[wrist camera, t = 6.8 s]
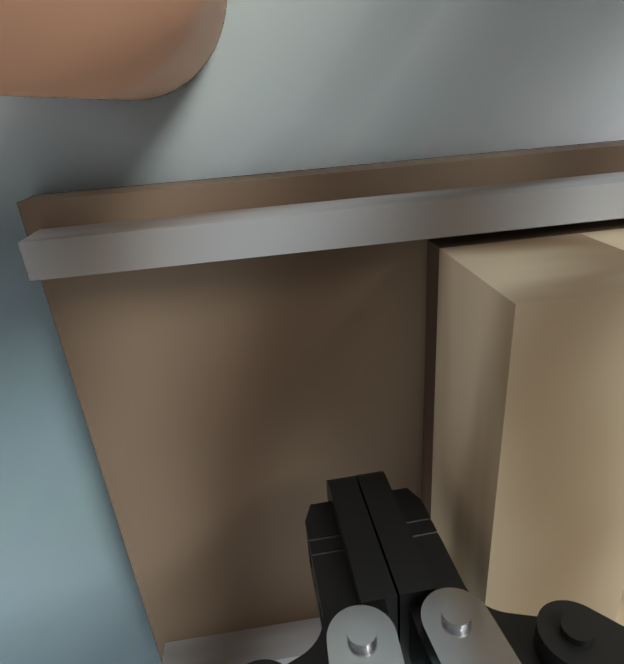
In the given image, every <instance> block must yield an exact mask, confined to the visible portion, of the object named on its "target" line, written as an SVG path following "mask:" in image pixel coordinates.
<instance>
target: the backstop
mask: <svg viewBox="0 0 624 664" xmlns="http://www.w3.org/2000/svg"><path fill="white" fill-rule="evenodd" d="M17 205H18V208H19V211H20V215H21V218H22V221H23V224H24V227H25V231H26V234H27V237H26V238H25V239H23V240H21V241H20V242H18V246H19V249H20V252H21V255H22V258H23V261H24V265H25V268H26V271H27V274H28V277H29V280H30V281H37V280H41V281H42V284H43V288H44V291H45V294H46V297H47V300H48V303H49V307H50V310H51V313H52V316H53V319H54V322H55V326H56V329H57V332H58V335H59V338H60V341H61V345H62V348H63V351H64V354H65V357H66V360H67V364H68V367H69V370H70V373H71V376H72V379H73V383H74V386H75V389H76V392H77V395H78V398H79V402H80V405H81V408H82V411H83V414H84V417H85V421H86V424H87V427H88V430H89V433H90V436H91V440H92V443H93V446H94V449H95V452H96V455H97V459H98V462H99V465H100V468H101V471H102V474H103V478H104V481H105V484H106V487H107V490H108V493H109V497H110V500H111V503H112V506H113V509H114V512H115V516H116V519H117V522H118V525H119V528H120V531H121V535H122V538H123V541H124V544H125V547H126V550H127V554H128V557H129V560H130V563H131V566H132V569H133V573H134V576H135V579H136V582H137V585H138V588H139V592H140V595H141V598H142V601H143V604H144V607H145V611H146V614H147V617H148V620H149V623H150V626H151V630H152V633H153V636H154V639H155V642H156V645H157V649H158V652H159V655H160V658H161V661H162V664H248V663H250V662H252V661H255V660H261V659H270V660H274V661H277V662H279V663H281V664H288V663H289V662H291V661H293V660H295V659H296V658H298V657H300V656H301V655H303V654H304V653H305V652H307V651H308V650H309V649H310V648H311V647H312V646H313V644H314V643H315V642H316V640H317V639H318V637H319V635H320V632H321V630H322V628H321V622H320V617H319V612H318V606H317V600H316V595H315V590H314V584H313V579H312V574H311V568H310V561H309V552H308V543H307V534H306V524H305V520H306V517H307V514H308V511H309V507H310V505H311V504H316V503H322V502H328V498H327V486H326V481H327V480H331V479H337V478H343V477H349V476H355V475H360V474H366V473H372V472H378V471H383V472H384V473H385V475H386V477H387V479H388V482H389V484H390V486H391V489H392V490H397V489H403V488H408V489H409V490H410V491H411V492H412V493H414V494H415V495H416V496H417V497H418V498H419V499H421V500H422V473H423V429H424V384H425V340H426V295H427V251H428V240H429V239H438V238H448V237H457V236H467V235H476V234H485V233H495V232H504V231H513V230H523V229H532V228H542V227H551V226H560V225H570V224H579V223H589V222H598V221H607V220H617V219H624V140H620V141H610V142H599V143H588V144H578V145H567V146H556V147H545V148H535V149H524V150H513V151H503V152H492V153H481V154H470V155H460V156H449V157H438V158H427V159H417V160H406V161H395V162H385V163H374V164H363V165H352V166H342V167H331V168H320V169H310V170H299V171H288V172H277V173H267V174H256V175H245V176H234V177H224V178H213V179H202V180H192V181H181V182H170V183H159V184H149V185H138V186H127V187H117V188H106V189H95V190H84V191H74V192H63V193H52V194H41V195H34V196H31V197H29V198H27V199H24V200H22V201H20V202H17Z"/></svg>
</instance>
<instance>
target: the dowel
mask: <svg viewBox="0 0 624 664" xmlns="http://www.w3.org/2000/svg"><path fill="white" fill-rule="evenodd" d="M226 7H227V0H0V96H26V97H55V98H84V99H112V100H144V99H150V98H155V97H158V96H162V95H165V94H168V93H170V92H172V91H174V90H176V89H178V88H179V87H181V86H182V85H184V84H185V83H187V82H188V81H189V80H191V79H192V78H193V77H194V76H195V75H196V74H197V73H198V72H199V71H200V70H201V68H202V67H203V66H204V65H205V63H206V62H207V61H208V59H209V57H210V56H211V54H212V52H213V51H214V49H215V47H216V44H217V42H218V40H219V37H220V34H221V31H222V27H223V24H224V19H225V13H226Z"/></svg>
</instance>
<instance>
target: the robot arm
mask: <svg viewBox="0 0 624 664" xmlns="http://www.w3.org/2000/svg"><path fill="white" fill-rule="evenodd" d="M326 486H327V498H328V502H322V503H316V504H311V505H310V507H309V511H308V514H307V517H306V520H305V524H306V534H307V543H308V552H309V561H310V568H311V574H312V579H313V584H314V590H315V595H316V600H317V606H318V612H319V617H320V622H321V628H322V630H321V632H320V635H319V637H318V639H317V640H316V642H315V643H314V644H313V646H312V647H311V648H310V649H309V650H308V651H307V652H305V653H304V654H303V655H301V656H300V657H298V658H296V659H295V660H293V661H291V662H289V663H288V664H624V626H622V625H620V624H619V623H617V622H615V621H613V620H611V619H609V618H607V617H606V616H604V615H602V614H600V613H598V612H596V611H594V610H593V609H591V608H589V607H587V606H585V605H583V604H580V603H577V602H574V601H569V600H556V601H552V602H549V603H547V604H546V605H544V606H543V607H542V608H541V609H540V611H539V613H538V616H530V615H522V614H513V613H506V612H501V611H498V610H495V609H492V608H490V607H488V606H486V605H485V604H484V603H483V602H482V601H481V600H480V599H479V598H477V597H476V596H475V595H473V594H472V593H470V592H469V591H468V590H467V588H466V587H465V585H464V583H463V581H462V579H461V577H460V575H459V573H458V571H457V569H456V567H455V565H454V563H453V561H452V559H451V557H450V555H449V553H448V551H447V549H446V547H445V545H444V543H443V541H442V539H441V537H440V536H439V534H438V533H437V530H436V528H435V526H434V524H433V522H432V520H431V519H430V516H429V514H428V512H427V510H426V508H425V506H424V504H423V502H422V500H421V499H419V498H418V497H417V496H416V495H415V494H414V493H412V492H411V491H410V490H409V489H408V488H403V489H397V490H392V489H391V486H390V484H389V482H388V479H387V477H386V475H385V473H384V472H383V471H378V472H372V473H366V474H360V475H355V476H349V477H343V478H337V479H331V480H327V481H326ZM248 664H281V663H279V662H277V661H274V660H270V659H261V660H255V661H252V662H250V663H248Z"/></svg>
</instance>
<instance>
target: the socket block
mask: <svg viewBox="0 0 624 664" xmlns="http://www.w3.org/2000/svg"><path fill="white" fill-rule="evenodd" d="M422 502H423V504H424V506H425V508H426V510H427V512H428V514H429V516H430V519H431V520H432V522H433V524H434V526H435V528H436V530H437V533H438V534H439V536H440V537H441V539H442V541H443V543H444V545H445V547H446V549H447V551H448V553H449V555H450V557H451V559H452V561H453V563H454V565H455V567H456V569H457V571H458V573H459V575H460V577H461V579H462V581H463V583H464V585H465V587H466V588H467V590H468V591H469V592H470V593H472V594H473V595H475V596H476V597H477V598H479V599H480V600H481V601H482V602H483V603H484V604H485V605H486V606H488V607H490V608H492V609H495V610H498V611H501V612H506V613H513V614H522V615H530V616H538V613H539V611H540V609H541V608H542V607H543V606H544V605H546V604H547V603H549V602H552V601H556V600H569V601H574V602H577V603H580V604H583V605H585V606H587V607H589V608H591V609H593V610H594V611H596V612H598V613H600V614H602V615H604V616H606V617H607V618H609V619H611V620H613V621H615V622H617V623H619V624H620V625H622V626H624V219H617V220H607V221H598V222H589V223H579V224H570V225H560V226H551V227H542V228H532V229H523V230H513V231H504V232H495V233H485V234H476V235H467V236H457V237H448V238H438V239H429V240H428V251H427V295H426V340H425V384H424V429H423V473H422Z"/></svg>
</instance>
